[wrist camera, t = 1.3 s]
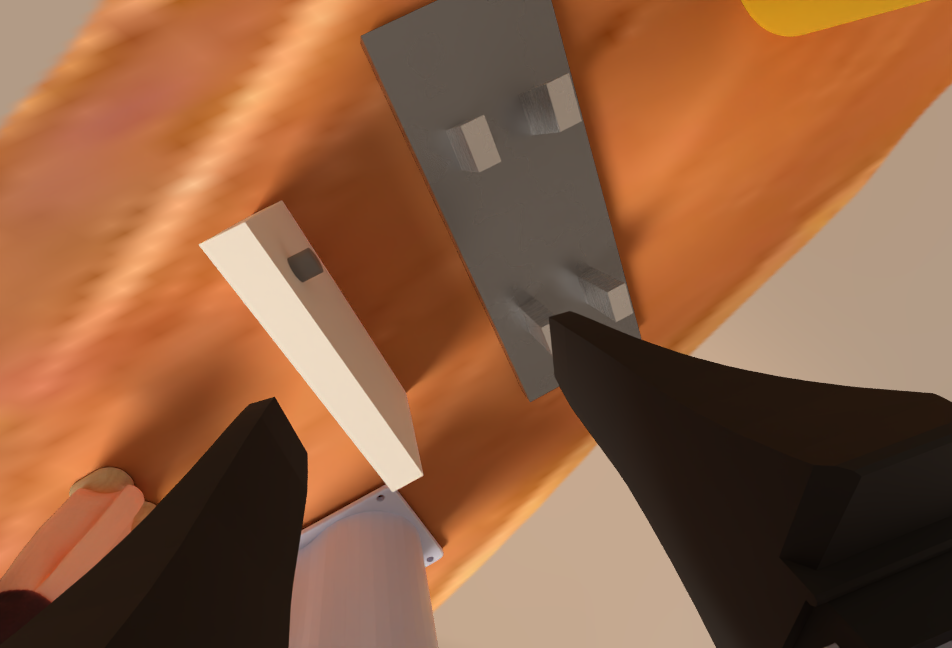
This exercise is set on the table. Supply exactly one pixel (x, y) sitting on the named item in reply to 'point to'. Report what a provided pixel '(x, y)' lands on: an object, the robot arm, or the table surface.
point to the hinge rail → (506, 167)
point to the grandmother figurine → (70, 544)
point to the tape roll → (815, 13)
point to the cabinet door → (319, 336)
